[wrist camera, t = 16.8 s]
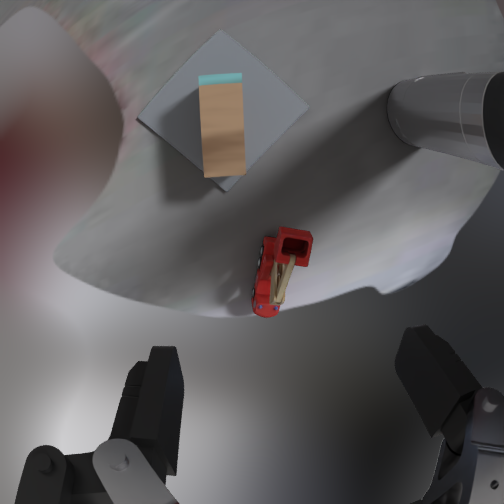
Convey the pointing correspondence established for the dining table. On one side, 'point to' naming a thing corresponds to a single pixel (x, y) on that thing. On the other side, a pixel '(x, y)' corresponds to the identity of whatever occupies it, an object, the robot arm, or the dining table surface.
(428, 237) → the dining table surface
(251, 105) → the grey mat
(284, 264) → the toy fire truck
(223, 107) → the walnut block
